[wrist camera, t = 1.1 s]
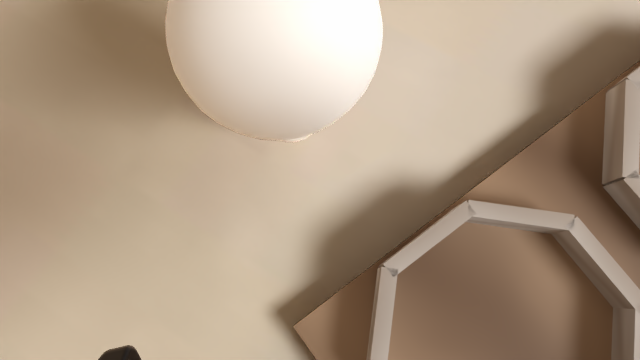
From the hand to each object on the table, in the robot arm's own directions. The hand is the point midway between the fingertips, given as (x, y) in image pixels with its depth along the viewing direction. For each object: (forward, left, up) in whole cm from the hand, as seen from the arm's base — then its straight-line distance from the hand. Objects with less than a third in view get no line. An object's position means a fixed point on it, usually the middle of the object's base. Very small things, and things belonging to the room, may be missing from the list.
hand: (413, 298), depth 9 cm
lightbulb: (+2, +8, -14) cm, 16 cm away
